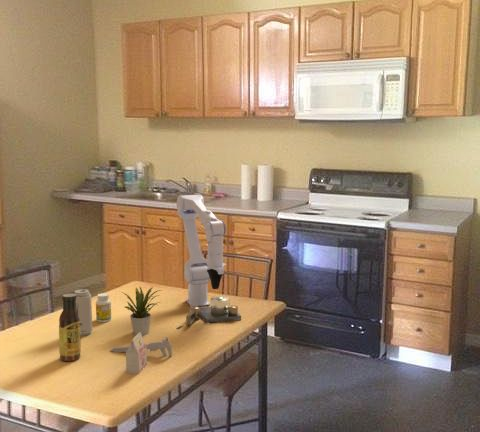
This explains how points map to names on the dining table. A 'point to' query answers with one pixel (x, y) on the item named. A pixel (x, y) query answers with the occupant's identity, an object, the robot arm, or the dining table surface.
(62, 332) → the sauce bottle
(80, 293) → the energy drink can
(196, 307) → the ball-topped bar
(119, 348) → the caliper
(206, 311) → the levelling base
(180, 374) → the dining table surface
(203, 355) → the dining table surface
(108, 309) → the supplement bottle
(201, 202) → the robot arm
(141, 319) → the house plant
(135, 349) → the paper snack bag
